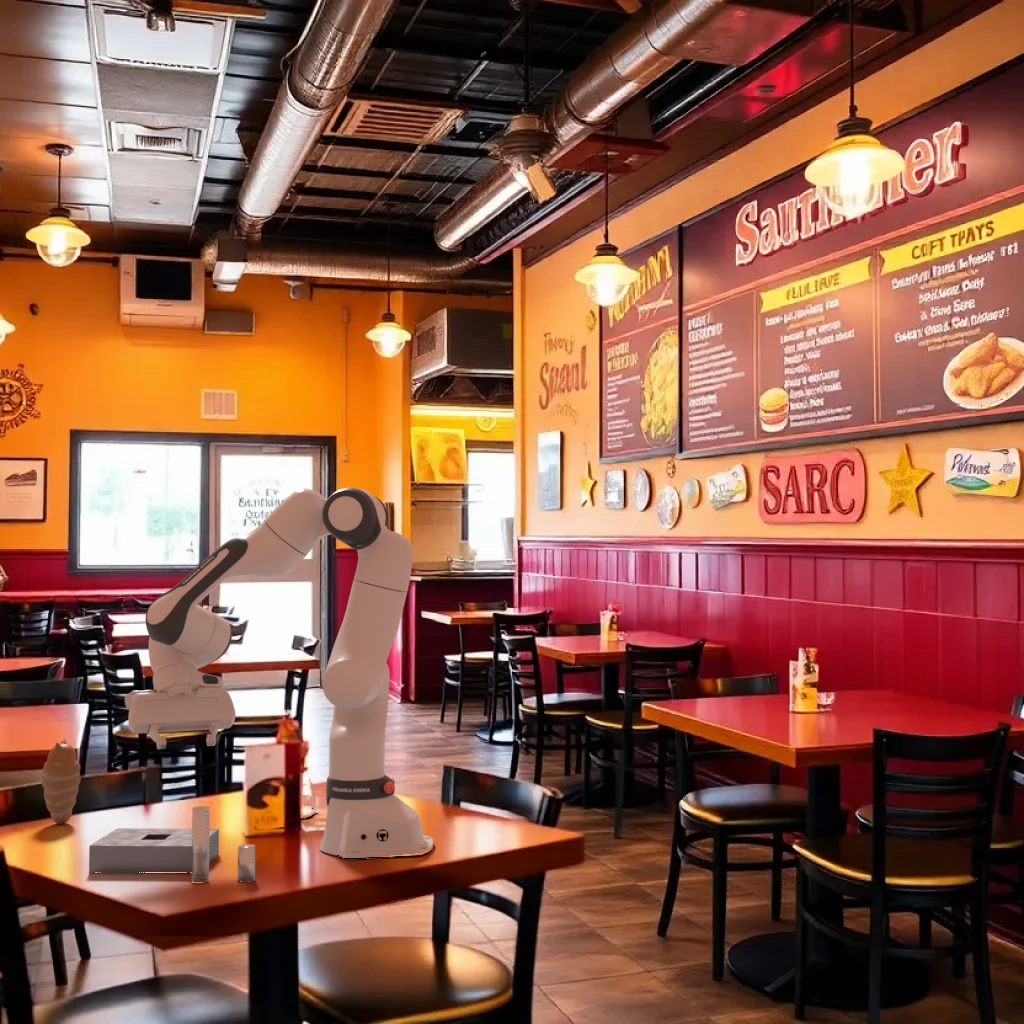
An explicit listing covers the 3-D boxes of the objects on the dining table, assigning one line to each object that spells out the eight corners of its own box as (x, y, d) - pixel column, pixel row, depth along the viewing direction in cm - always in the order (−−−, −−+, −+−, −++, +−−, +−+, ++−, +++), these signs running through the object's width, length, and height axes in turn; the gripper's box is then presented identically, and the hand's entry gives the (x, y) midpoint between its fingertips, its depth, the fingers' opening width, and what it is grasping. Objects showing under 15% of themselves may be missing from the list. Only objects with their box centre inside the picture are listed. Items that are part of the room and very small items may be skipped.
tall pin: (210, 879, 208) (211, 806, 209) (206, 883, 205) (206, 809, 206) (194, 879, 208) (195, 806, 209) (189, 883, 205) (190, 809, 206)
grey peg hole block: (218, 854, 226) (218, 828, 226) (197, 873, 212) (197, 846, 212) (116, 854, 226) (117, 828, 227) (88, 873, 212) (89, 845, 213)
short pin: (256, 878, 209) (256, 844, 209) (252, 882, 206) (252, 848, 206) (240, 878, 209) (240, 844, 209) (235, 882, 206) (236, 848, 206)
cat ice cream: (49, 819, 257) (50, 738, 258) (85, 819, 258) (86, 737, 258) (34, 828, 248) (36, 744, 249) (72, 828, 249) (73, 743, 250)
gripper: (125, 681, 225) (133, 738, 216) (230, 677, 235) (242, 732, 226) (121, 701, 229) (128, 759, 220) (224, 697, 239) (236, 752, 230)
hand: (187, 745), depth 223 cm, fingers open, 8 cm apart
